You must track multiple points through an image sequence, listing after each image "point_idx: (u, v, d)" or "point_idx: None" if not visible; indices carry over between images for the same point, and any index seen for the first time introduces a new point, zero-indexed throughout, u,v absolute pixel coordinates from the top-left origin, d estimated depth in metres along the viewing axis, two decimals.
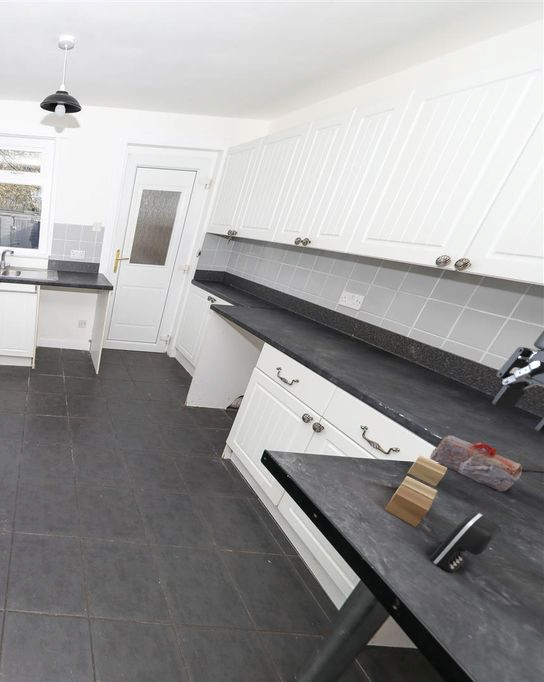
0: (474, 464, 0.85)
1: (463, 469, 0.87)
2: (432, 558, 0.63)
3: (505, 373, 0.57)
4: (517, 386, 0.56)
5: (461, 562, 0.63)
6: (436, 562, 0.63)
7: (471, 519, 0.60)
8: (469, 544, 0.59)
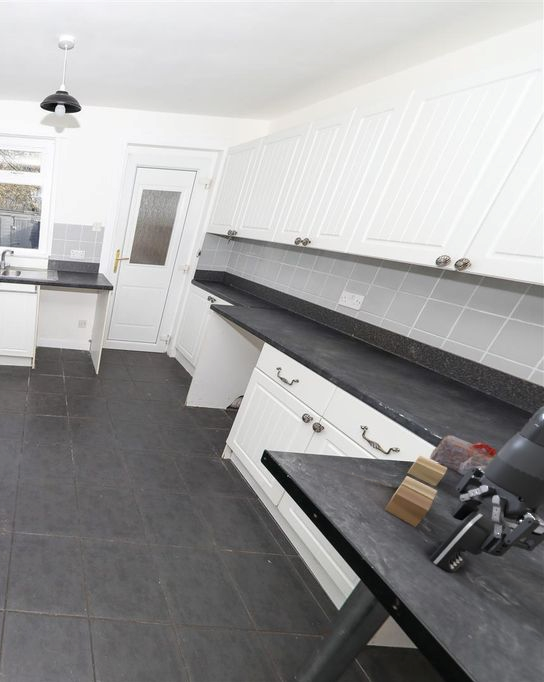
0: (474, 464, 0.85)
1: (463, 469, 0.87)
2: (432, 558, 0.63)
3: (462, 489, 0.64)
4: (472, 503, 0.62)
5: (461, 562, 0.63)
6: (436, 562, 0.63)
7: (472, 519, 0.60)
8: (469, 544, 0.59)
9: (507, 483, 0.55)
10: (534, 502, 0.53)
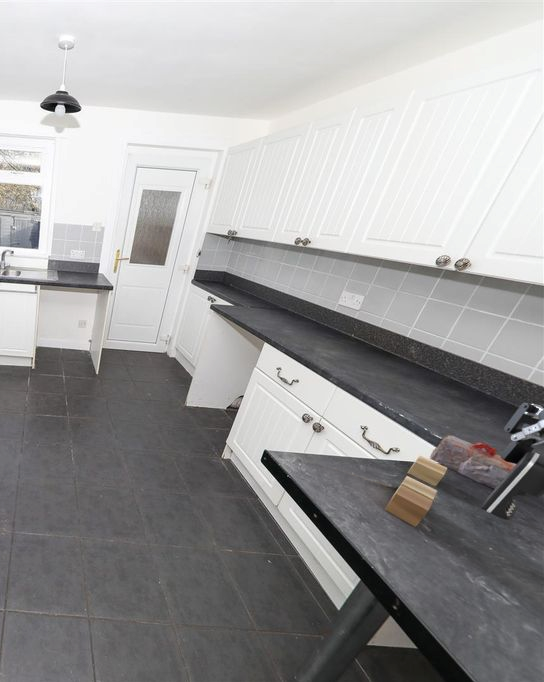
0: (474, 464, 0.85)
1: (463, 469, 0.87)
2: (485, 506, 0.57)
3: (513, 428, 0.58)
4: (526, 443, 0.56)
5: (514, 509, 0.57)
6: (490, 510, 0.57)
7: (531, 458, 0.54)
8: (531, 486, 0.53)
9: None
10: None
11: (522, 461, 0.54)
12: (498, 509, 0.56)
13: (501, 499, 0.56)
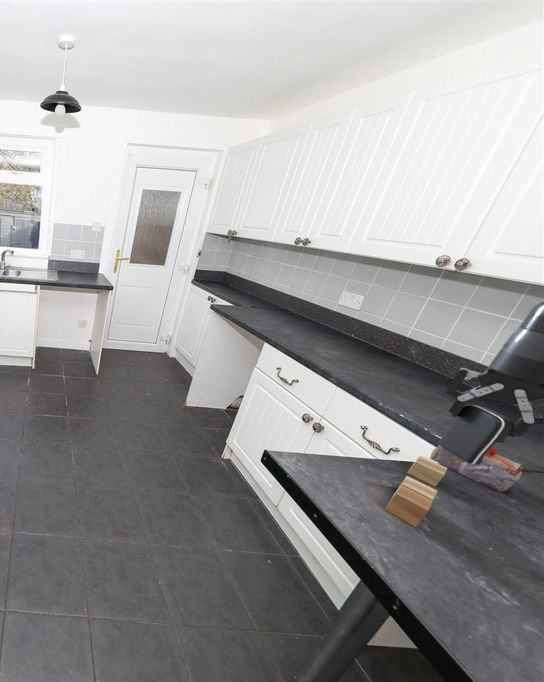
0: (474, 464, 0.85)
1: (463, 469, 0.87)
2: (471, 461, 0.69)
3: (456, 391, 0.71)
4: None
5: None
6: (474, 462, 0.69)
7: (494, 415, 0.67)
8: (503, 437, 0.66)
9: (543, 378, 0.61)
10: None
11: (497, 421, 0.66)
12: (479, 459, 0.69)
13: (482, 452, 0.68)
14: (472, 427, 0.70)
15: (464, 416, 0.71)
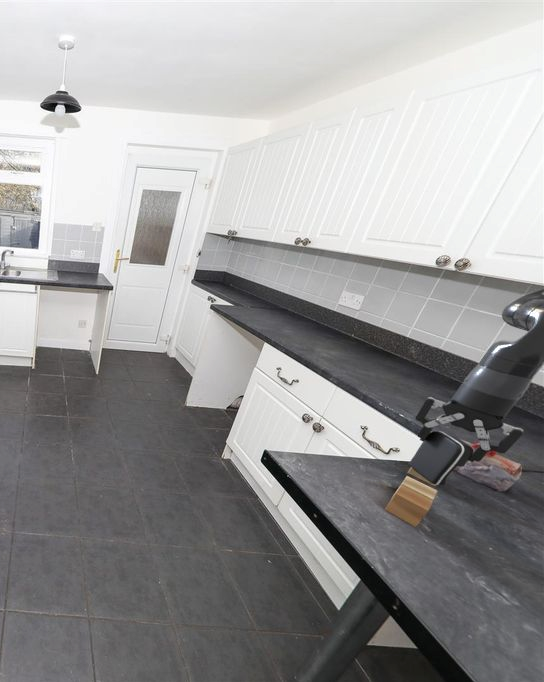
0: (474, 464, 0.85)
1: (463, 469, 0.87)
2: (435, 482, 0.76)
3: (423, 418, 0.78)
4: None
5: None
6: (438, 483, 0.76)
7: (455, 441, 0.74)
8: (463, 461, 0.73)
9: (497, 410, 0.68)
10: None
11: (457, 447, 0.73)
12: (442, 481, 0.76)
13: (445, 474, 0.75)
14: (437, 451, 0.77)
15: (431, 441, 0.78)
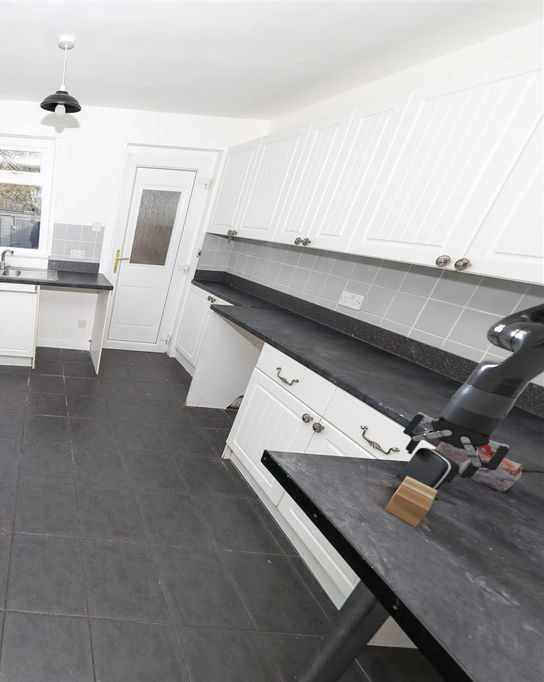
0: None
1: (463, 469, 0.87)
2: None
3: (411, 432, 0.80)
4: None
5: None
6: None
7: (442, 458, 0.76)
8: (450, 478, 0.75)
9: (483, 429, 0.70)
10: (491, 433, 0.71)
11: (444, 464, 0.75)
12: None
13: None
14: (425, 467, 0.79)
15: (419, 457, 0.80)
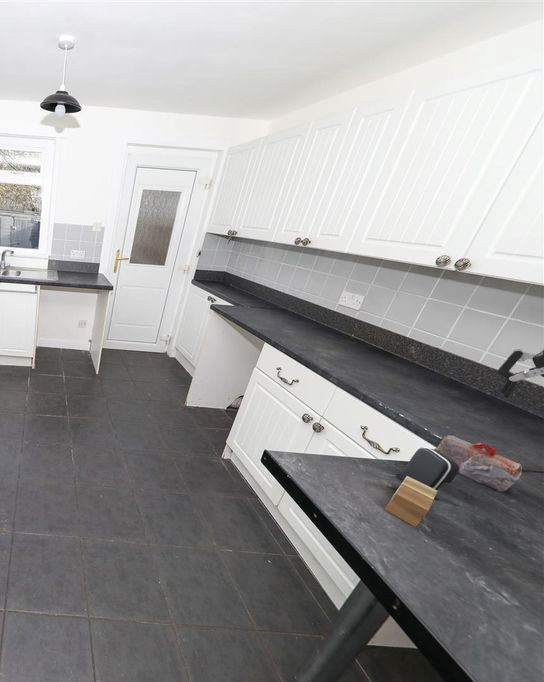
0: (474, 464, 0.85)
1: (463, 469, 0.87)
2: None
3: (507, 371, 0.72)
4: None
5: None
6: None
7: (442, 458, 0.76)
8: (450, 478, 0.75)
9: None
10: None
11: (444, 464, 0.75)
12: None
13: None
14: (425, 467, 0.79)
15: (419, 457, 0.80)
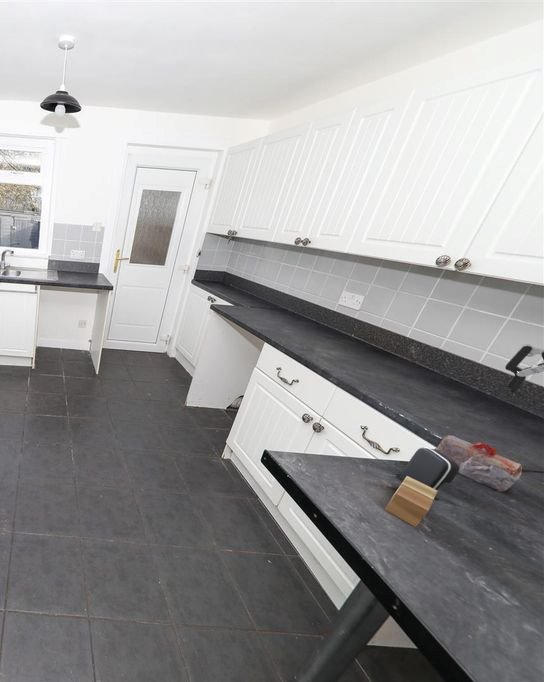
0: (474, 464, 0.85)
1: (463, 469, 0.87)
2: None
3: (515, 367, 0.72)
4: None
5: None
6: None
7: (442, 458, 0.76)
8: (450, 478, 0.75)
9: None
10: None
11: (444, 464, 0.75)
12: None
13: None
14: (425, 467, 0.79)
15: (419, 457, 0.80)
